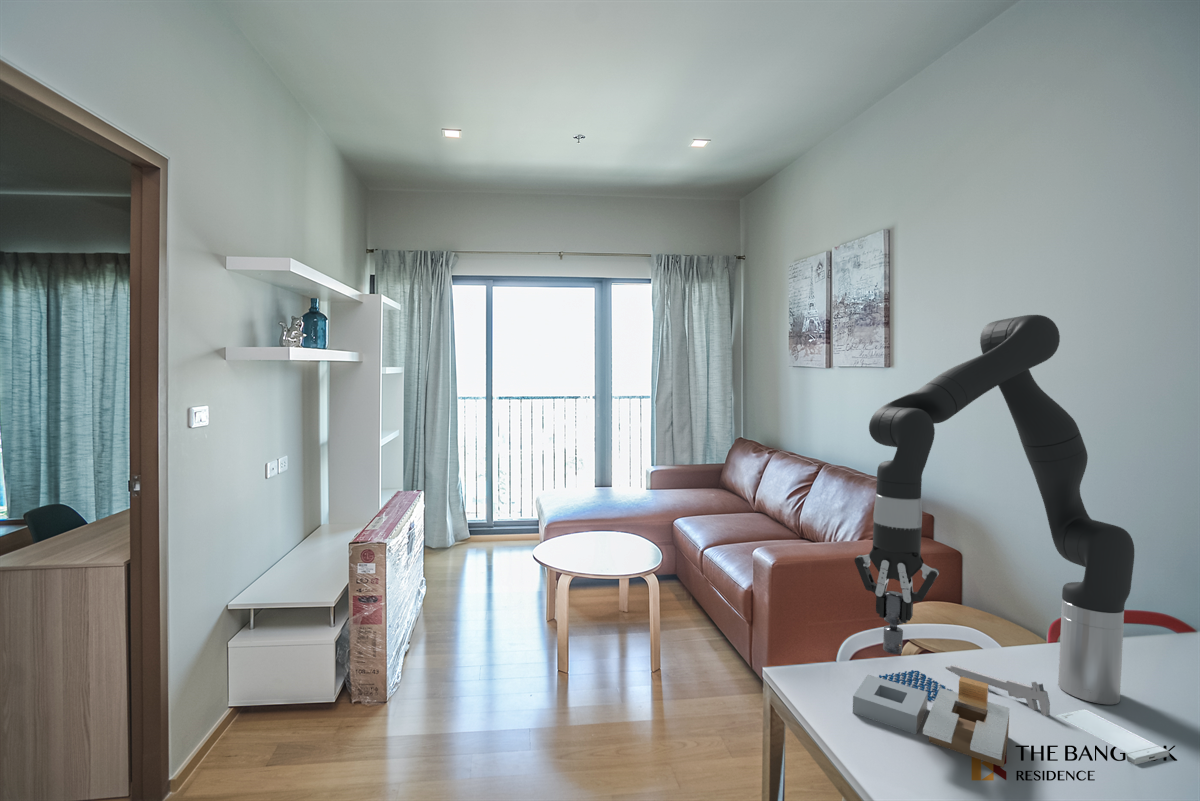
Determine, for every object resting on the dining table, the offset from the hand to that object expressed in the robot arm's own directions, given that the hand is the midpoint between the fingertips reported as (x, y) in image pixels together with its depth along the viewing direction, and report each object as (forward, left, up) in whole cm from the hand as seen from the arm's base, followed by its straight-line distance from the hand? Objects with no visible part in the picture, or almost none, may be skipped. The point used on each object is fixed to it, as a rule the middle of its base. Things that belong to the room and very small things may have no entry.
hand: (893, 618), depth 105 cm
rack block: (0, 0, -17) cm, 17 cm away
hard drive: (-17, +30, -18) cm, 39 cm away
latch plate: (+4, +12, -12) cm, 18 cm away
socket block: (+1, +12, -17) cm, 21 cm away
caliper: (-22, +14, -18) cm, 31 cm away
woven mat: (-13, +2, -18) cm, 22 cm away
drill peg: (0, 0, -6) cm, 6 cm away
